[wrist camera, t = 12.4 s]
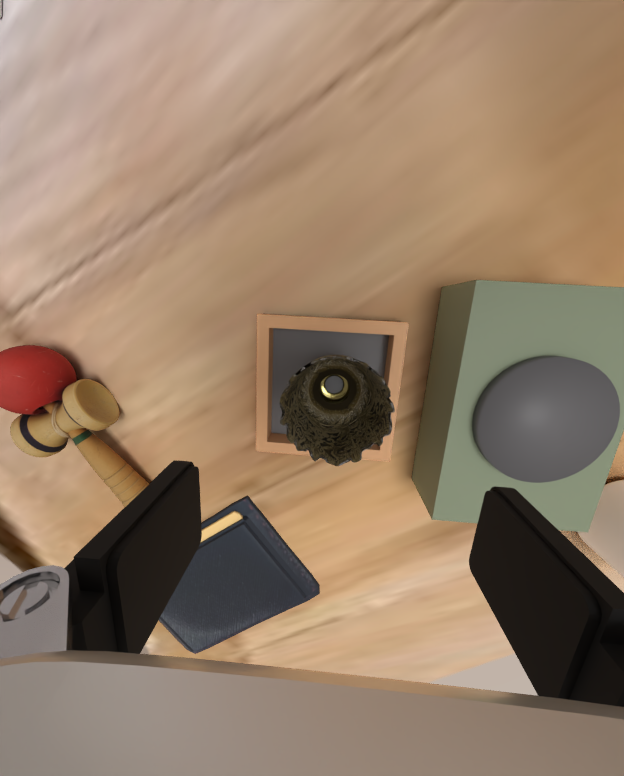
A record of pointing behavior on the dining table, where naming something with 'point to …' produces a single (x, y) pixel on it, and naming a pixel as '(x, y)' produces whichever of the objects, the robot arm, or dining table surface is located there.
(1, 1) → the supplement box
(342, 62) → the dining table surface
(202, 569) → the wallet
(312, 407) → the dark bronze domed piece
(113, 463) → the kendama
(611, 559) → the beverage can
